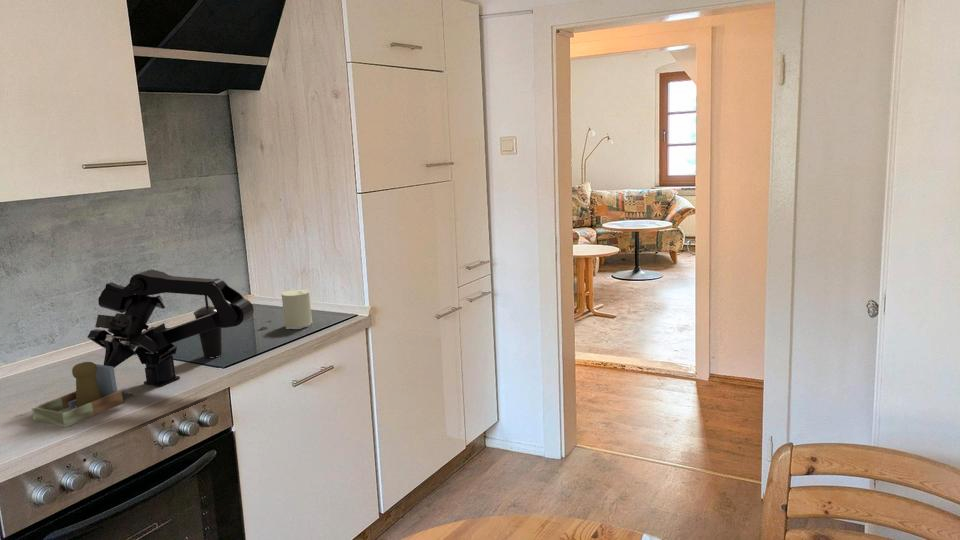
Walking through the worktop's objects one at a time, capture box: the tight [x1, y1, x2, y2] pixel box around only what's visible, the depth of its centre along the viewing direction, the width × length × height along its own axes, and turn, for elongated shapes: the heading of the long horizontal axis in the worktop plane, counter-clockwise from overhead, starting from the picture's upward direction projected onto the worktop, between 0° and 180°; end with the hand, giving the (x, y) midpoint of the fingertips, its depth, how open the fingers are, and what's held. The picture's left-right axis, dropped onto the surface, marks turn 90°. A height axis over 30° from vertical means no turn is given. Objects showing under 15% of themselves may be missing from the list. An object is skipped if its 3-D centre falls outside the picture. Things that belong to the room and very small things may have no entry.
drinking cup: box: [193, 295, 223, 359], centre depth 202 cm, size 8×8×20 cm
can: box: [280, 288, 313, 327], centre depth 232 cm, size 9×9×12 cm
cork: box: [71, 361, 102, 408], centre depth 167 cm, size 6×6×11 cm
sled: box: [68, 363, 118, 409], centre depth 168 cm, size 7×8×9 cm
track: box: [31, 390, 124, 427], centre depth 165 cm, size 15×11×3 cm
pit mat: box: [122, 391, 135, 401], centre depth 175 cm, size 4×8×1 cm, turn 66°
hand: (104, 371), depth 171 cm, fingers closed
